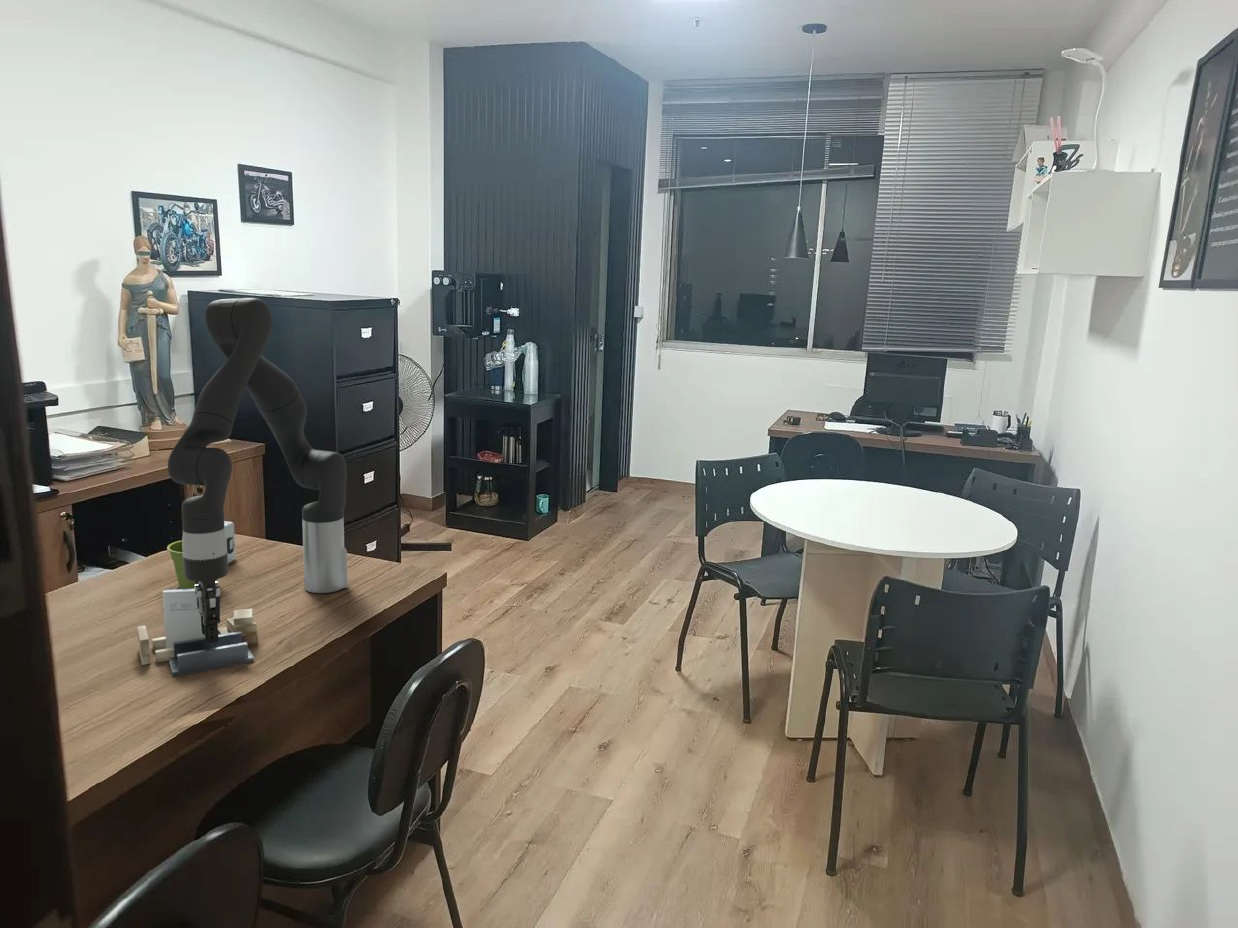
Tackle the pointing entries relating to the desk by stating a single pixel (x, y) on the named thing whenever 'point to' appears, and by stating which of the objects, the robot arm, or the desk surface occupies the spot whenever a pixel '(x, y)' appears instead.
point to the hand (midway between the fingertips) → (210, 637)
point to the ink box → (230, 540)
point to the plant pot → (180, 565)
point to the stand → (209, 654)
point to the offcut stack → (243, 626)
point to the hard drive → (181, 616)
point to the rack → (158, 646)
